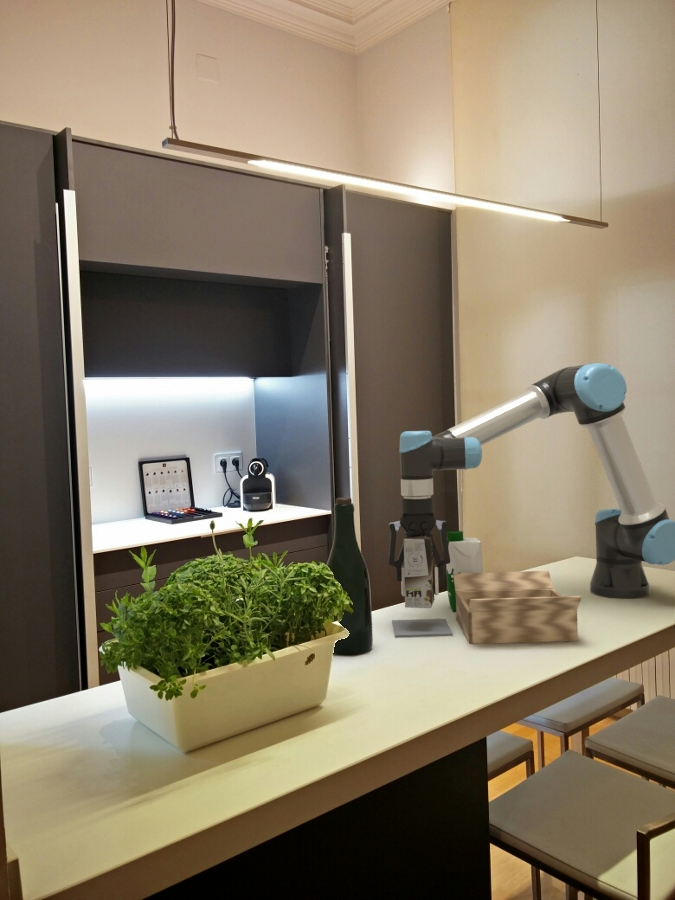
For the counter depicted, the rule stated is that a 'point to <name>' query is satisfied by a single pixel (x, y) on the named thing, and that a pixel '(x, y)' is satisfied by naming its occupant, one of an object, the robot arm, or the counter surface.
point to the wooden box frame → (514, 608)
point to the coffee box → (418, 572)
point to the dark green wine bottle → (351, 581)
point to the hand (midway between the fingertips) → (419, 594)
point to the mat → (421, 628)
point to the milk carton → (461, 560)
